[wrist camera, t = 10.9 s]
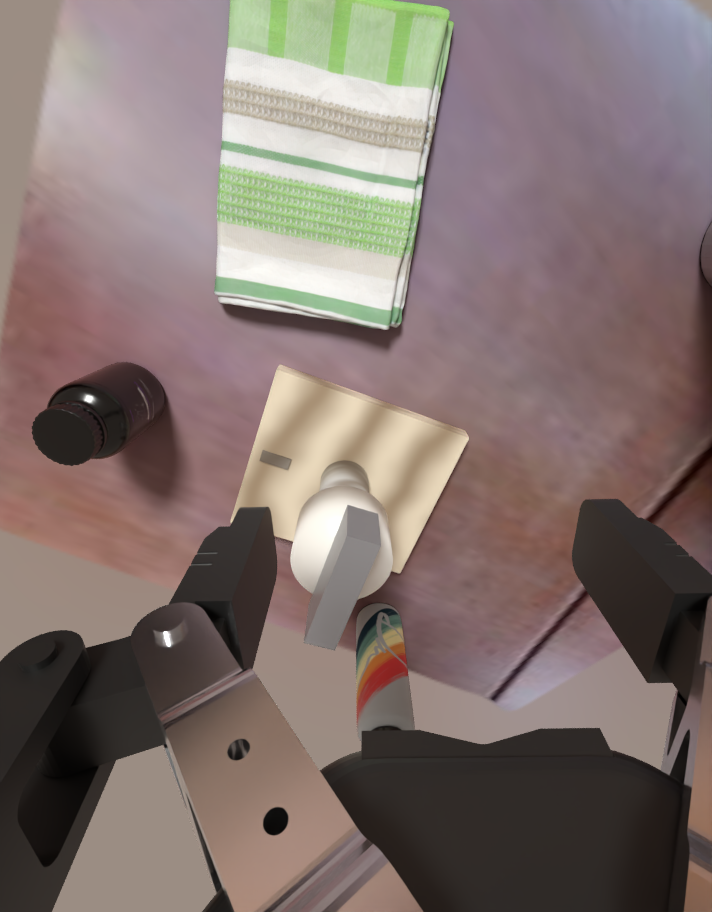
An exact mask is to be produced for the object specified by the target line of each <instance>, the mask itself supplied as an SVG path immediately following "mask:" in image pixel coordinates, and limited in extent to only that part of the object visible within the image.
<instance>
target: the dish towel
mask: <svg viewBox="0 0 712 912" xmlns="http://www.w3.org/2000/svg"><path fill="white" fill-rule="evenodd" d="M449 15H450V13H449V10H447V9H445V8H442V7H439V6H428V5H423V4H415V3H409V2H399V1H392V0H230V12H229V33H228V47H227V58H226V66H225V78H224V87H223V124H222V146H221V160H220V167H219V182H218V196H217V198H218V204H217V245H218V251H217V264H216V280H215V290H214V292H215V295H217V296H218V298H219V303H223V304H232V305H239V306H244V307H251V308H256V309H261V310H269V311H274V312H282V313H290V314H299V315H304V316H310V317H316V318H323V319H330V320H335V321H340V322H346V323H350V324H355V325H359V326H363V327H368V328H376V329H378V328H380V329H383V330H388V329H389V328H390V326H392V327H395V328H397V327H398V326H399V325H400V324H401V322H402V310H403V307H404V304H405V297H406V292H407V285H408V280H409V272H410V264H411V259H412V255H413V250H414V244H415V236H416V231H417V224H418V221H419V212H420V206H421V198H422V189H423V181H424V176H425V170H426V164H427V158H428V155H429V152H430V146H431V143H432V137H433V133H434V130H435V122H436V114H437V109H438V103H439V99H440V95H441V87H442V83H443V79H444V75H445V70H446V65H447V60H448V54H449V47H450V40H451V35H452V31H453V27H454V22H452V21H449V20H448V19H449Z"/></svg>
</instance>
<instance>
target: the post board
mask: <svg viewBox="0 0 712 912" xmlns="http://www.w3.org/2000/svg"><path fill="white" fill-rule="evenodd" d="M468 440H469V437H468V435H467V433H466V432H465V430H462V429H459V428H456V427H453V426H451V425H448V424H445V423H442V422H440V421H437V420H434V419H431V418H428V417H426V416H423V415H420V414H417V413H414V412H412V411H409V410H406V409H403V408H400V407H398V406H395V405H392V404H389V403H387V402H384V401H381V400H378V399H375V398H373V397H370V396H367V395H364V394H361V393H359V392H356V391H353V390H350V389H347V388H345V387H342V386H339V385H336V384H333V383H331V382H328V381H325V380H322V379H320V378H317V377H314V376H311V375H308V374H306V373H303V372H300V371H297V370H294V369H292V368H289V367H286V366H283V365H279V367H278V368H277V370H276V373H275V377H274V380H273V383H272V387H271V390H270V393H269V397H268V400H267V403H266V406H265V410H264V413H263V416H262V420H261V423H260V426H259V429H258V433H257V436H256V439H255V443H254V446H253V449H252V452H251V456H250V459H249V462H248V466H247V469H246V472H245V475H244V479H243V482H242V485H241V489H240V492H239V495H238V498H237V502H236V505H235V508H234V512H233V515H232V518H231V521H230V523H232V522H233V520H234V518H235V515H236V513H237V511H238V509H239V508H240V507H269V508H270V511H271V515H272V523H273V531H274V536H276V537H279V538H283V539H286V540H289V541H294V536H295V531H296V526H297V521H298V517H299V513H300V511H301V508H302V507H303V505H304V504H305V503H306V501H307V500H308V499H309V498H310V497H311V496H313V495H314V494H316V493H317V492H319V491H321V490H324V489H326V488H330V487H335V486H350V487H355V488H359V489H362V490H364V491H366V492H368V493H370V494H371V495H373V496H374V497H375V498H376V499H377V500H378V501H379V502H380V503H381V504H382V506H383V507H384V509H385V511H386V513H387V517H388V523H389V531H390V539H391V547H392V555H393V565H392V570H391V571H393V572H396V573H399V574H400V573H401V571H402V569H403V567H404V565H405V563H406V561H407V559H408V557H409V555H410V553H411V551H412V549H413V547H414V545H415V543H416V541H417V539H418V537H419V536H420V534H421V532H422V530H423V528H424V526H425V524H426V522H427V520H428V518H429V516H430V514H431V512H432V510H433V508H434V506H435V504H436V502H437V500H438V498H439V496H440V494H441V492H442V490H443V489H444V487H445V485H446V483H447V481H448V479H449V477H450V475H451V473H452V471H453V469H454V467H455V465H456V463H457V461H458V459H459V457H460V455H461V453H462V451H463V449H464V447H465V445H466V443H467V441H468Z"/></svg>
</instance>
